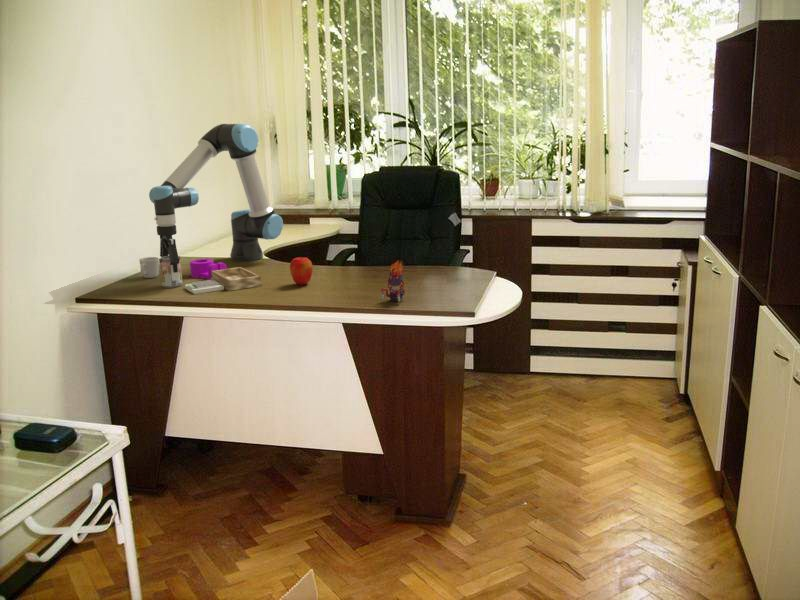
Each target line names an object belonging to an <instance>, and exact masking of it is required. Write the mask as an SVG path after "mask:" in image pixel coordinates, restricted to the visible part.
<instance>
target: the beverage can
mask: <svg viewBox="0 0 800 600" xmlns="http://www.w3.org/2000/svg"><path fill="white" fill-rule="evenodd" d="M178 258H179V263H178V270H179V280H175V281H172V274H171V265H170V263H171V261H170V257H169V255H168V256H164V257H162V258H161V257H160V258H159V271H160V278H161V287H163V288H167V289H173V288H178V287H179V288H180V287H182V285H183V274H182V273H183V272H182V266H181V261H180V260H181V256H179V255H178Z"/></svg>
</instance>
